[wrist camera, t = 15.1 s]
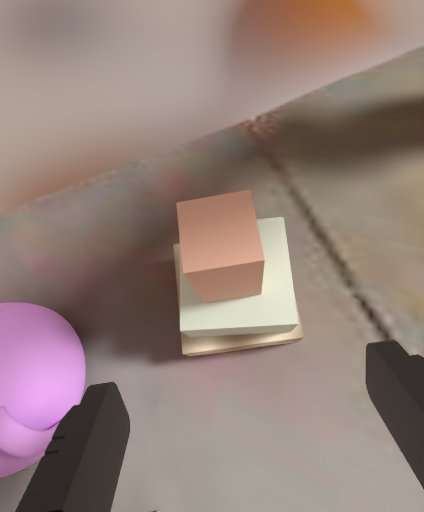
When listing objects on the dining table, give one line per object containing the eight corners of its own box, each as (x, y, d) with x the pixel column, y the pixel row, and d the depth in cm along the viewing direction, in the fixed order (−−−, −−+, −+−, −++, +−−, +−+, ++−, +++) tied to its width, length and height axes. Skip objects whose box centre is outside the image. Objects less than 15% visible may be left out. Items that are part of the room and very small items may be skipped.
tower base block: (275, 244, 39) (278, 227, 35) (297, 342, 35) (303, 337, 30) (182, 259, 40) (173, 244, 35) (191, 356, 36) (182, 354, 31)
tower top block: (279, 238, 34) (283, 216, 29) (291, 331, 30) (298, 323, 26) (189, 246, 35) (179, 226, 30) (190, 337, 31) (179, 330, 27)
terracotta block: (251, 241, 29) (250, 189, 20) (261, 294, 27) (264, 260, 19) (198, 250, 29) (176, 202, 21) (204, 302, 27) (183, 273, 19)
